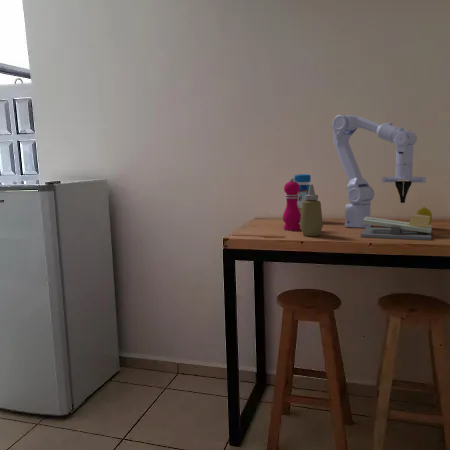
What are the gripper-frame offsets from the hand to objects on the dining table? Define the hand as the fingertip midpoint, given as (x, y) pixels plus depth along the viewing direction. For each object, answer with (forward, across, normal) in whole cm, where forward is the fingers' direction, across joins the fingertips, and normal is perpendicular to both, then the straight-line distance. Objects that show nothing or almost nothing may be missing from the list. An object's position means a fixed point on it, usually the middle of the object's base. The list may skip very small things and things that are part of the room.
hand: (402, 202), depth 166 cm
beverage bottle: (+11, -41, +14) cm, 44 cm away
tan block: (+7, +6, -9) cm, 13 cm away
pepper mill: (+11, -39, -7) cm, 41 cm away
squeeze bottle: (+11, -29, -18) cm, 36 cm away
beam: (+8, -1, -9) cm, 12 cm away
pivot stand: (+10, -1, -9) cm, 14 cm away
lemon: (+10, +7, +7) cm, 15 cm away
